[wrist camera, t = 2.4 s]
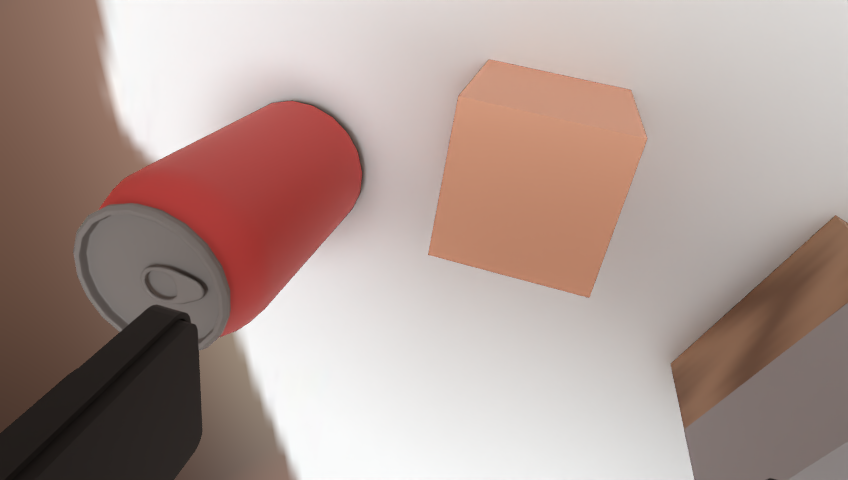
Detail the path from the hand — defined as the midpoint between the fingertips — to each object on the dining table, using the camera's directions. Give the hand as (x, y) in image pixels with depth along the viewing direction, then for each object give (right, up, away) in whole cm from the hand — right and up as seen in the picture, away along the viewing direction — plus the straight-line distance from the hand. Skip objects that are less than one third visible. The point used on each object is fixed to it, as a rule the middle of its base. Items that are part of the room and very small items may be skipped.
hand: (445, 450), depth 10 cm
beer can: (-6, +7, +19) cm, 22 cm away
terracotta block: (+5, +8, +16) cm, 18 cm away
